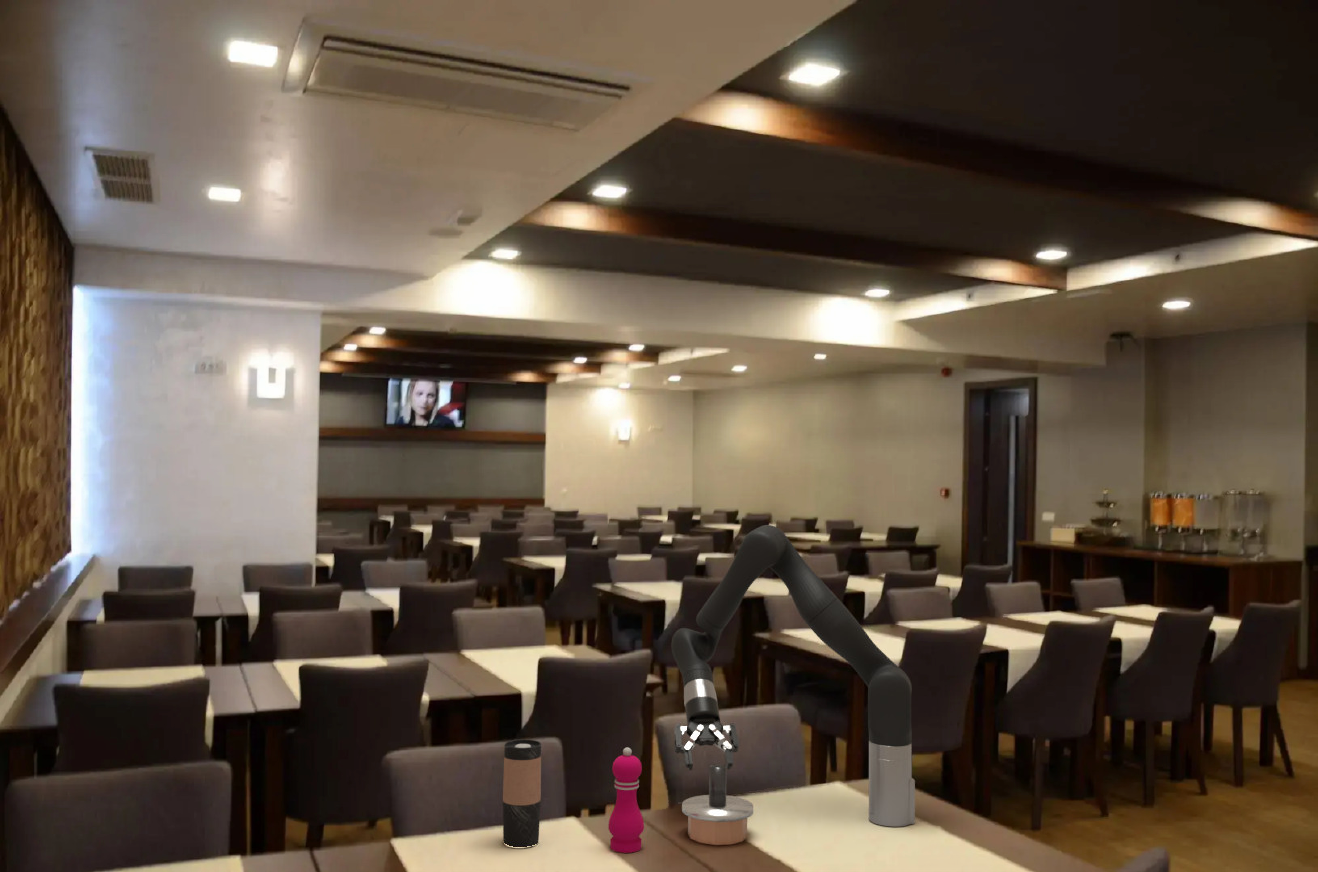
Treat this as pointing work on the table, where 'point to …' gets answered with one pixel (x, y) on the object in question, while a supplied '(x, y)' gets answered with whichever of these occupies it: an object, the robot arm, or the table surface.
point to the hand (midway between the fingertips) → (710, 767)
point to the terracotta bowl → (717, 831)
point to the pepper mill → (626, 805)
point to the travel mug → (521, 792)
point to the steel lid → (717, 801)
